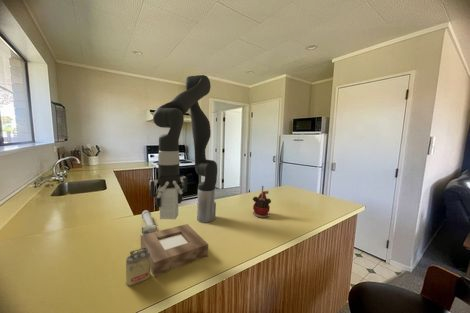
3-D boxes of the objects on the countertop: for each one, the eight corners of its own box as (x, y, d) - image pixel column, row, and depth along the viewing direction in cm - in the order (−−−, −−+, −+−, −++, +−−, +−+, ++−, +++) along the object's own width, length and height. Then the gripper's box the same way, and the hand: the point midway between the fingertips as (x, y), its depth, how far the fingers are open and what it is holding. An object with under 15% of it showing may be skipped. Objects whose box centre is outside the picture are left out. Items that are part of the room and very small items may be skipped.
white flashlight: (149, 217, 109) (159, 236, 88) (136, 219, 105) (143, 240, 84) (149, 208, 108) (159, 225, 87) (136, 210, 105) (143, 228, 84)
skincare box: (178, 215, 78) (178, 186, 77) (175, 219, 74) (175, 189, 72) (163, 214, 78) (163, 185, 76) (159, 219, 74) (159, 188, 72)
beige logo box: (127, 287, 59) (126, 256, 58) (124, 280, 62) (124, 250, 61) (151, 277, 63) (151, 248, 62) (148, 271, 66) (148, 243, 65)
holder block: (187, 234, 92) (187, 223, 91) (207, 256, 76) (208, 244, 75) (140, 247, 80) (140, 235, 79) (153, 276, 64) (153, 262, 63)
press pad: (180, 236, 84) (180, 234, 84) (189, 246, 76) (189, 244, 76) (158, 242, 78) (158, 240, 78) (165, 254, 71) (165, 251, 71)
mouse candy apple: (250, 216, 115) (252, 186, 113) (254, 211, 124) (255, 183, 122) (268, 219, 111) (270, 189, 109) (270, 213, 120) (272, 185, 118)
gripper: (183, 160, 80) (183, 198, 83) (146, 162, 72) (147, 205, 74) (191, 162, 74) (190, 204, 77) (151, 165, 66) (151, 212, 68)
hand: (169, 204), depth 75 cm, fingers closed on skincare box, 7 cm apart
